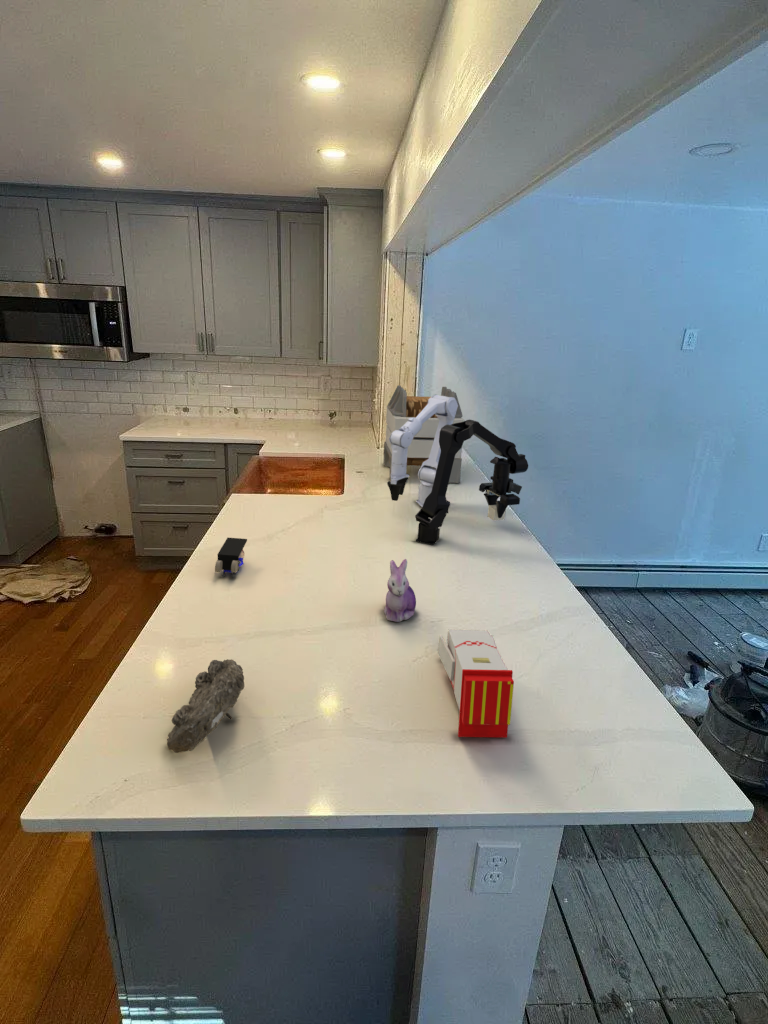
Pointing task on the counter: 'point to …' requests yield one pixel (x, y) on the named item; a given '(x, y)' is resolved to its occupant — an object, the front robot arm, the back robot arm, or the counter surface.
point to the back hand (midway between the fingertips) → (397, 497)
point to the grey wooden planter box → (422, 442)
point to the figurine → (399, 594)
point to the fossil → (206, 705)
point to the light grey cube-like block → (494, 513)
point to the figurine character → (230, 556)
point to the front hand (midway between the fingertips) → (496, 515)
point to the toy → (478, 682)
